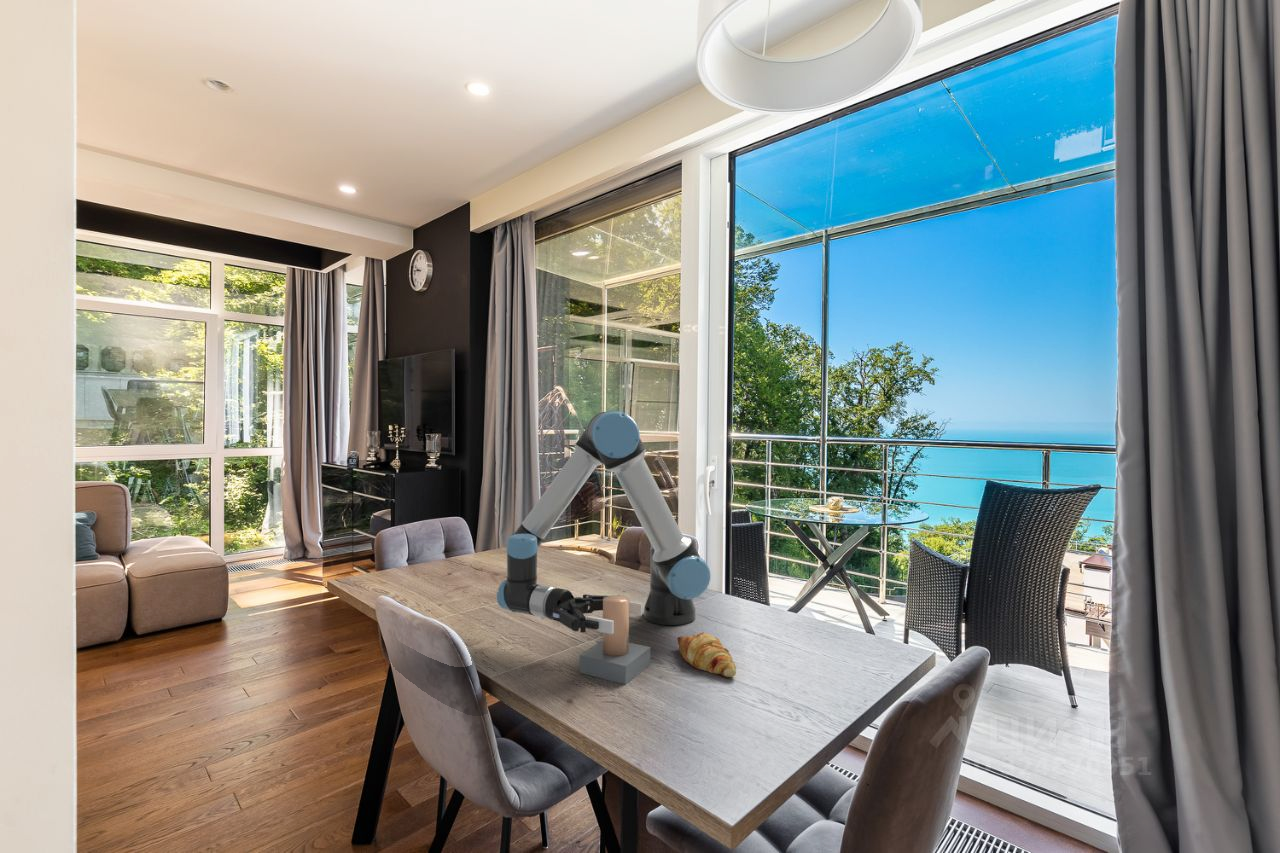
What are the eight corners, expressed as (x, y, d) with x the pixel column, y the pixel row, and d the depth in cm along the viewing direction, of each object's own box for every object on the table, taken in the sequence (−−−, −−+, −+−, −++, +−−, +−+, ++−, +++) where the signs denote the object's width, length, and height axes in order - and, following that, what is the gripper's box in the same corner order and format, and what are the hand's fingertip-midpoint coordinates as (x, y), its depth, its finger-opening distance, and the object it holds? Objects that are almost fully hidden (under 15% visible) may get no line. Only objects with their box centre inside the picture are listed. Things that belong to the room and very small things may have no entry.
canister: (611, 644, 138) (611, 594, 138) (633, 648, 135) (633, 597, 135) (597, 652, 133) (598, 600, 133) (620, 657, 130) (620, 604, 130)
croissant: (743, 693, 130) (757, 658, 132) (713, 681, 125) (728, 646, 127) (686, 657, 148) (699, 627, 150) (658, 646, 143) (671, 615, 145)
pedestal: (607, 653, 142) (607, 637, 142) (650, 664, 137) (650, 647, 136) (579, 672, 132) (579, 655, 132) (625, 684, 126) (625, 666, 126)
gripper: (580, 604, 153) (652, 618, 144) (519, 634, 131) (598, 653, 121) (581, 576, 153) (652, 588, 143) (519, 602, 131) (599, 618, 121)
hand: (628, 618), depth 132 cm, fingers open, 13 cm apart
